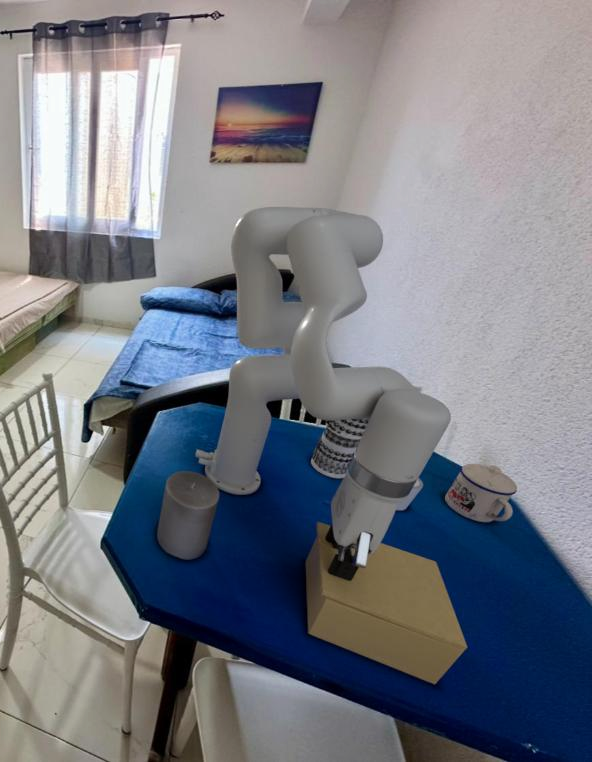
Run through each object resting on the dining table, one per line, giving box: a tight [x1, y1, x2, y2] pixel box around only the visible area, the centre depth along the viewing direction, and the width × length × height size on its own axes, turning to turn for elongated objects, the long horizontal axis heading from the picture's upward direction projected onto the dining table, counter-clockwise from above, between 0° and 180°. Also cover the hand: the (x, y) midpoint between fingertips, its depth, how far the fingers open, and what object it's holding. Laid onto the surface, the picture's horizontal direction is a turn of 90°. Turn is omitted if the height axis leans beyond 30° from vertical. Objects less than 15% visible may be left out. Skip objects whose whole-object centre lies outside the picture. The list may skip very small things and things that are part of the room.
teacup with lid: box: [444, 463, 518, 523], centre depth 87 cm, size 12×9×12 cm
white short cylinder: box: [396, 477, 424, 511], centre depth 90 cm, size 7×7×7 cm
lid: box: [316, 521, 468, 651], centre depth 63 cm, size 18×15×5 cm
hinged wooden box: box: [305, 536, 465, 685], centre depth 66 cm, size 17×15×9 cm
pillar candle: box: [156, 470, 220, 561], centre depth 77 cm, size 10×10×15 cm
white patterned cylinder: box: [310, 418, 369, 479], centre depth 96 cm, size 9×9×25 cm
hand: (337, 558), depth 66 cm, fingers closed on lid, 6 cm apart
